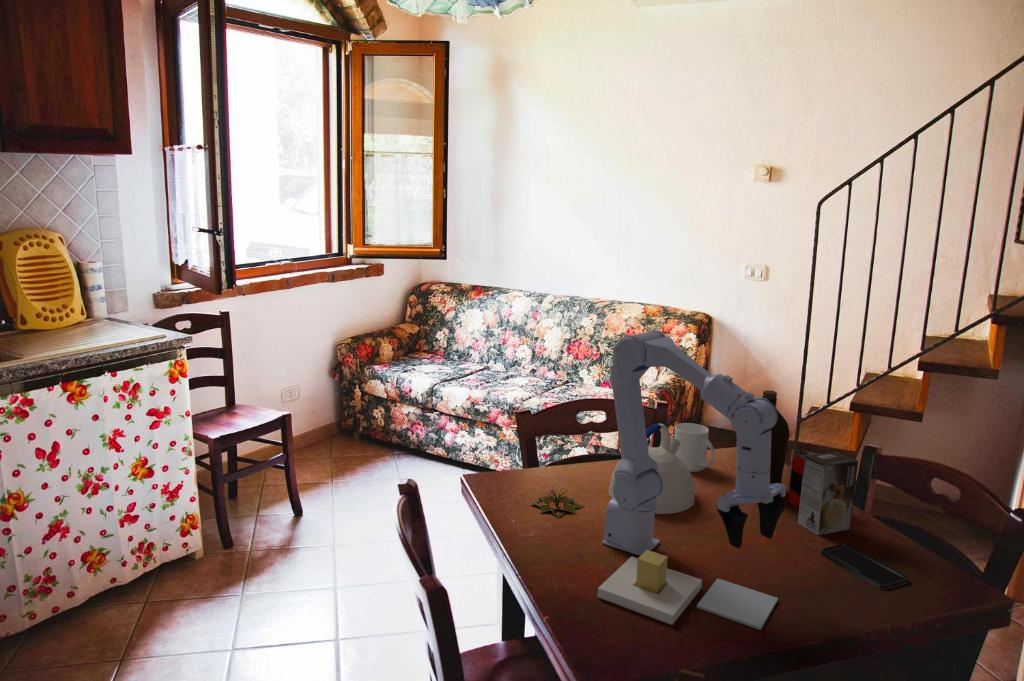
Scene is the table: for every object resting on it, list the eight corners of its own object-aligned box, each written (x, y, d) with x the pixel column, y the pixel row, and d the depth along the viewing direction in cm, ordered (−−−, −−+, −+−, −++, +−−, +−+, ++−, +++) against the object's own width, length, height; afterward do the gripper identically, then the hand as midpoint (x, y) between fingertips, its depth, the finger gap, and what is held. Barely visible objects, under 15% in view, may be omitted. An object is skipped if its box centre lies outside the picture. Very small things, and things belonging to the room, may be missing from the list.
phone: (845, 543, 149) (911, 578, 135) (845, 548, 149) (910, 583, 136) (817, 549, 146) (882, 586, 132) (817, 555, 146) (881, 592, 132)
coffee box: (828, 517, 162) (836, 450, 159) (850, 530, 156) (860, 460, 153) (796, 523, 159) (804, 455, 155) (817, 536, 153) (826, 465, 150)
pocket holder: (597, 597, 127) (598, 587, 127) (631, 564, 139) (631, 556, 138) (672, 625, 120) (673, 615, 119) (701, 588, 131) (702, 579, 131)
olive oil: (785, 501, 170) (796, 400, 165) (738, 495, 173) (748, 395, 167) (779, 483, 180) (790, 388, 175) (735, 479, 183) (745, 384, 178)
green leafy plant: (554, 492, 172) (555, 475, 171) (593, 509, 164) (594, 490, 163) (519, 507, 164) (520, 488, 163) (559, 525, 156) (560, 505, 155)
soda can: (801, 495, 174) (806, 448, 172) (829, 506, 168) (835, 458, 165) (780, 501, 170) (786, 453, 168) (808, 513, 164) (815, 464, 161)
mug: (701, 479, 182) (704, 439, 179) (665, 464, 191) (668, 426, 189) (722, 472, 186) (726, 433, 184) (686, 458, 196) (690, 421, 194)
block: (635, 594, 129) (637, 558, 127) (644, 584, 132) (646, 549, 131) (656, 601, 127) (658, 565, 125) (664, 591, 130) (667, 556, 128)
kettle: (710, 496, 172) (717, 424, 169) (667, 523, 157) (673, 445, 153) (638, 472, 185) (642, 405, 182) (591, 496, 170) (595, 423, 166)
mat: (696, 607, 125) (696, 605, 125) (717, 580, 134) (717, 578, 134) (760, 630, 119) (760, 627, 119) (777, 600, 128) (778, 598, 128)
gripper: (739, 482, 119) (737, 559, 121) (800, 467, 126) (797, 540, 128) (709, 470, 126) (708, 543, 128) (769, 456, 132) (767, 526, 134)
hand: (751, 541), depth 128 cm, fingers open, 7 cm apart
